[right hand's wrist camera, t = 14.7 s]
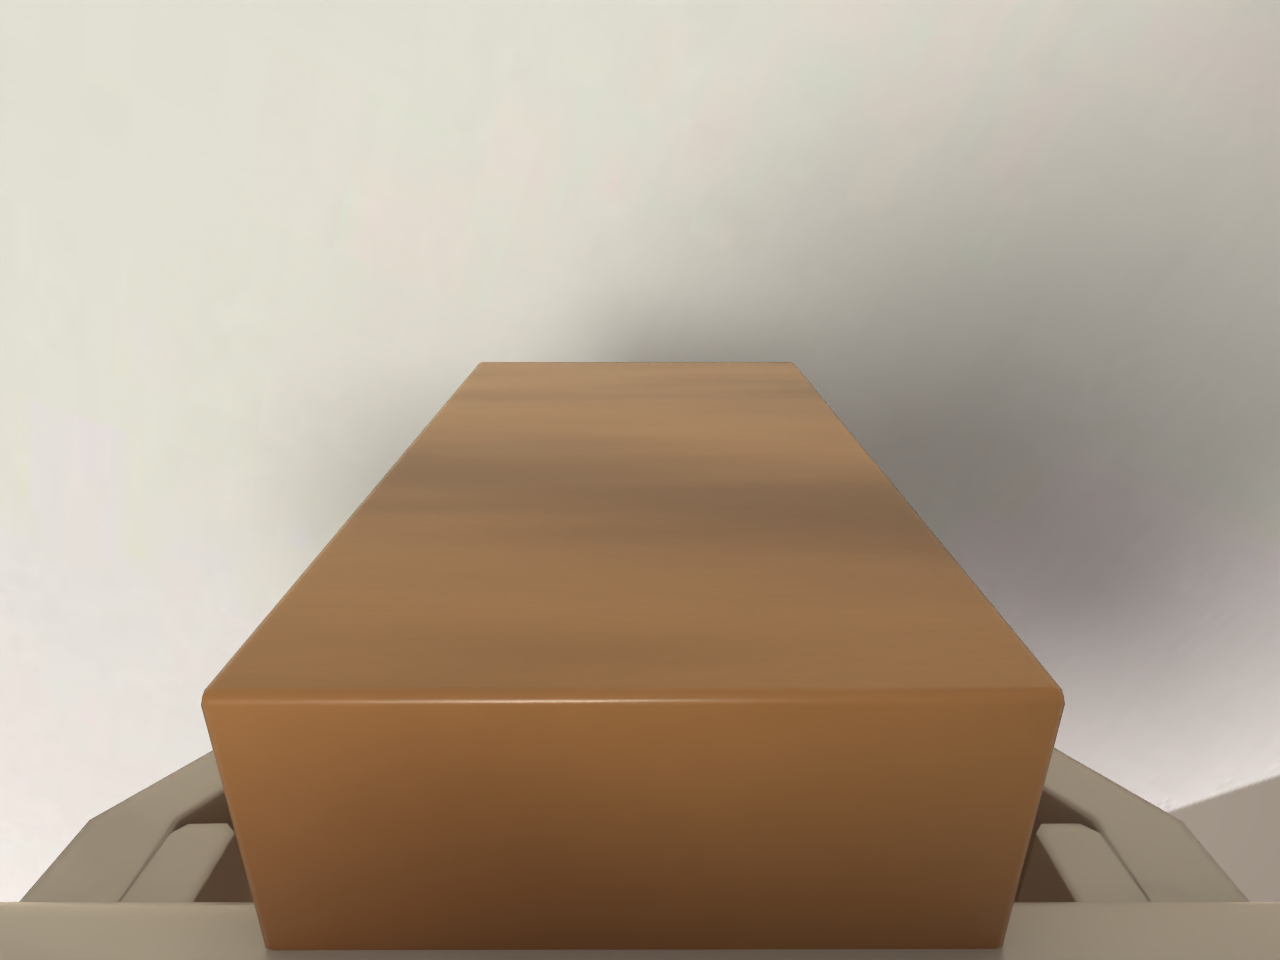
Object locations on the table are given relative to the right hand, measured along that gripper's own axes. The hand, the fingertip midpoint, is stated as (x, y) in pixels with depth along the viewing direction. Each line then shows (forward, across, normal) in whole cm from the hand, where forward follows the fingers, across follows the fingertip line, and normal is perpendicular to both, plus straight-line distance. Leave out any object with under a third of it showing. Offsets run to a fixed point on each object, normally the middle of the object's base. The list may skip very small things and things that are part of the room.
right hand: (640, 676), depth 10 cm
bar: (+3, 0, -10) cm, 10 cm away
